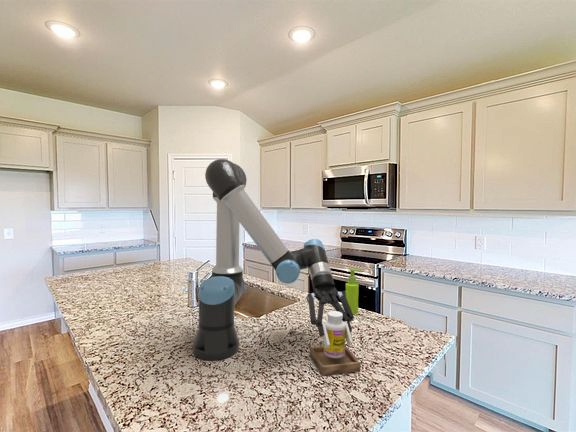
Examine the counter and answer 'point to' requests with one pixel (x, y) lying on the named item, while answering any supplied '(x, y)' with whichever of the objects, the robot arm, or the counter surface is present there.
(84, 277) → the counter surface
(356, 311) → the soap dispenser
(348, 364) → the walnut tray
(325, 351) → the supplement bottle
